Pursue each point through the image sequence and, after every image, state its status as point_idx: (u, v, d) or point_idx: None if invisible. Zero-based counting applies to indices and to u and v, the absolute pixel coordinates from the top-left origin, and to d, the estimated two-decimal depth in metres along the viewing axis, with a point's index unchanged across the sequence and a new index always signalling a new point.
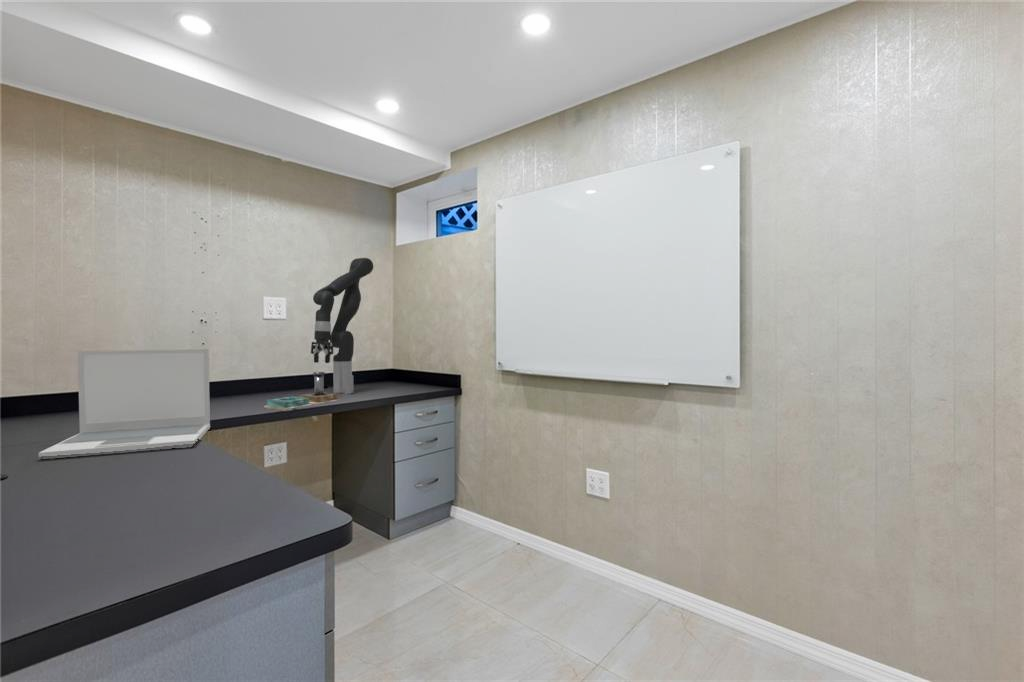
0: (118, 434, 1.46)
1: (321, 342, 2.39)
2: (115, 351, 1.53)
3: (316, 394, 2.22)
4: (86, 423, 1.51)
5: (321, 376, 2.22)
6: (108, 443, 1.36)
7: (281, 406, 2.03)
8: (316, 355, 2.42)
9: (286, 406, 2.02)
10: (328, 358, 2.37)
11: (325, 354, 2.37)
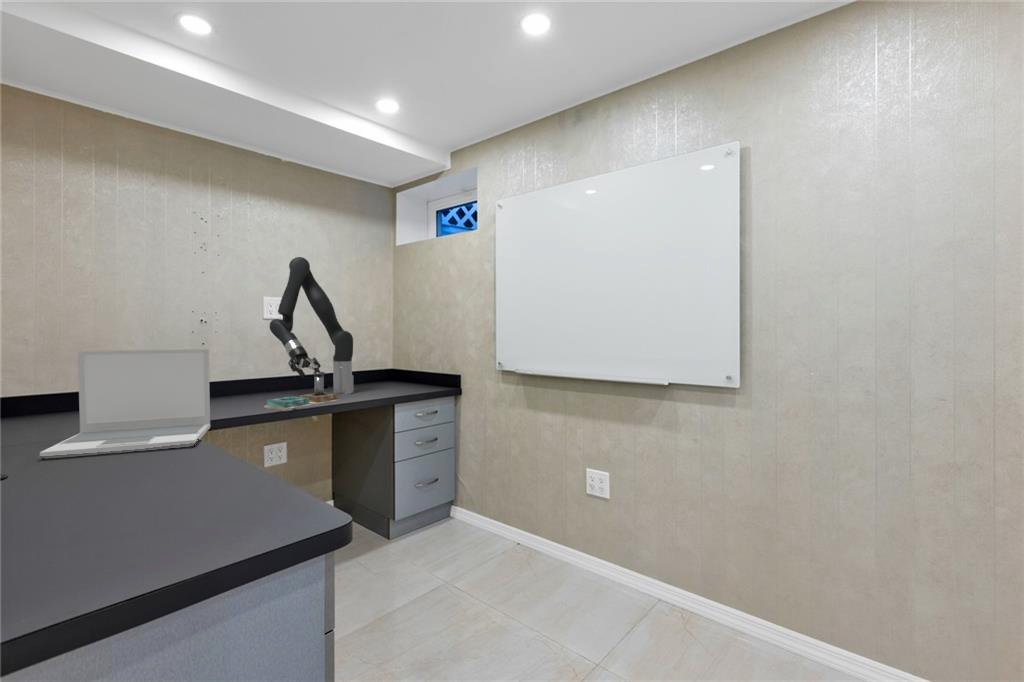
0: (118, 434, 1.46)
1: None
2: (115, 351, 1.53)
3: (316, 394, 2.22)
4: (87, 423, 1.51)
5: (321, 376, 2.22)
6: (109, 443, 1.36)
7: (281, 406, 2.03)
8: (315, 370, 2.31)
9: (286, 406, 2.02)
10: (299, 373, 2.22)
11: (298, 371, 2.24)
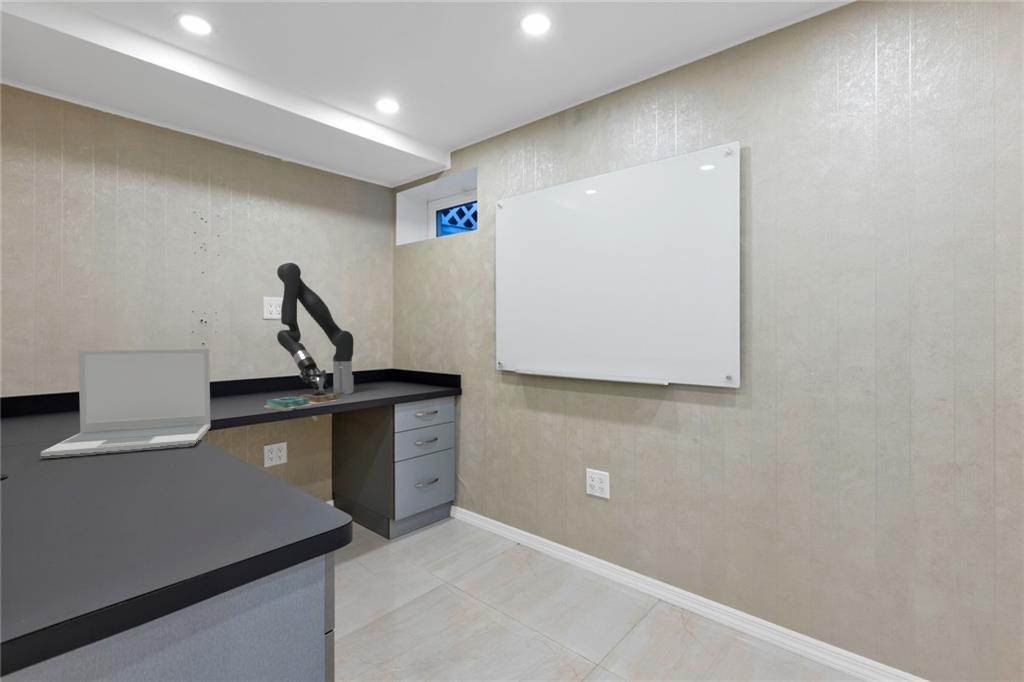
0: (119, 434, 1.47)
1: None
2: (116, 351, 1.53)
3: (316, 394, 2.22)
4: (87, 422, 1.51)
5: (321, 376, 2.22)
6: (110, 442, 1.36)
7: (281, 406, 2.03)
8: None
9: (286, 406, 2.02)
10: (313, 386, 2.21)
11: None
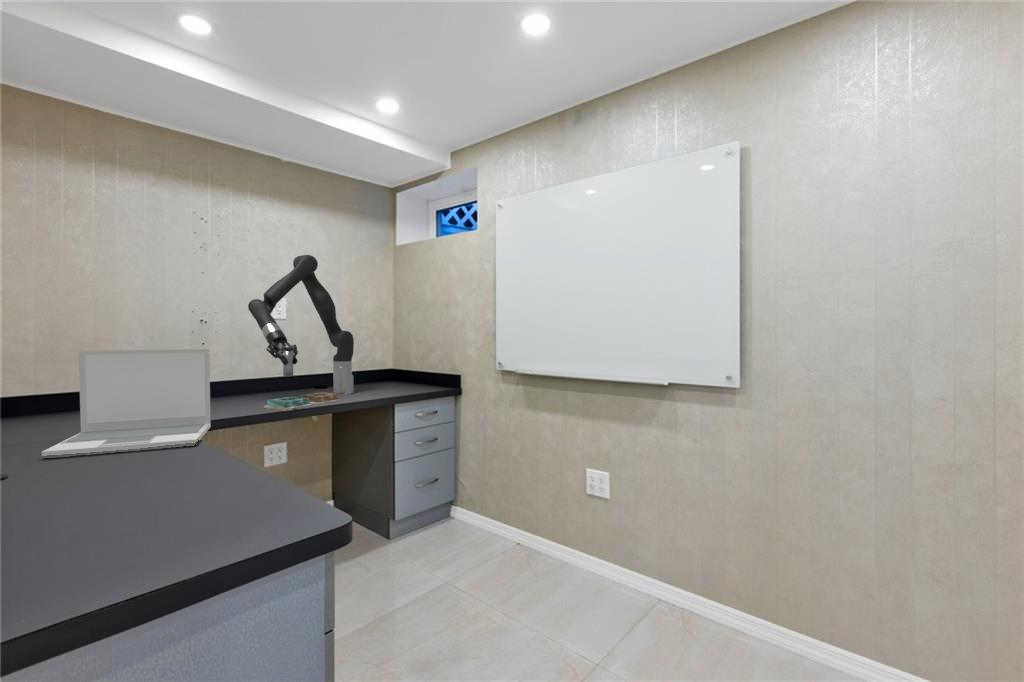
0: (120, 433, 1.47)
1: None
2: (116, 351, 1.53)
3: (285, 369, 2.08)
4: (87, 422, 1.51)
5: (290, 350, 2.08)
6: (110, 442, 1.37)
7: (281, 406, 2.03)
8: None
9: (286, 406, 2.02)
10: (281, 360, 2.07)
11: None
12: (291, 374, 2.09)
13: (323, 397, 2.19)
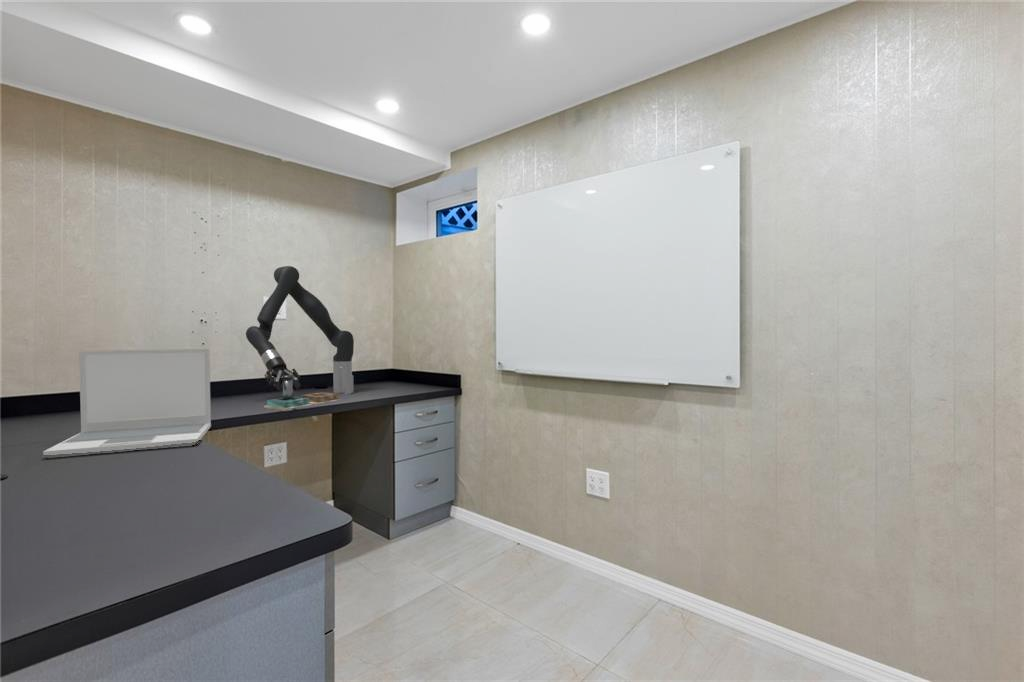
0: (120, 433, 1.48)
1: None
2: (116, 351, 1.54)
3: (285, 399, 2.08)
4: (88, 422, 1.52)
5: (290, 379, 2.08)
6: (111, 442, 1.37)
7: (281, 406, 2.03)
8: (294, 382, 2.14)
9: (286, 406, 2.02)
10: (276, 386, 2.05)
11: None
12: None
13: (323, 397, 2.19)
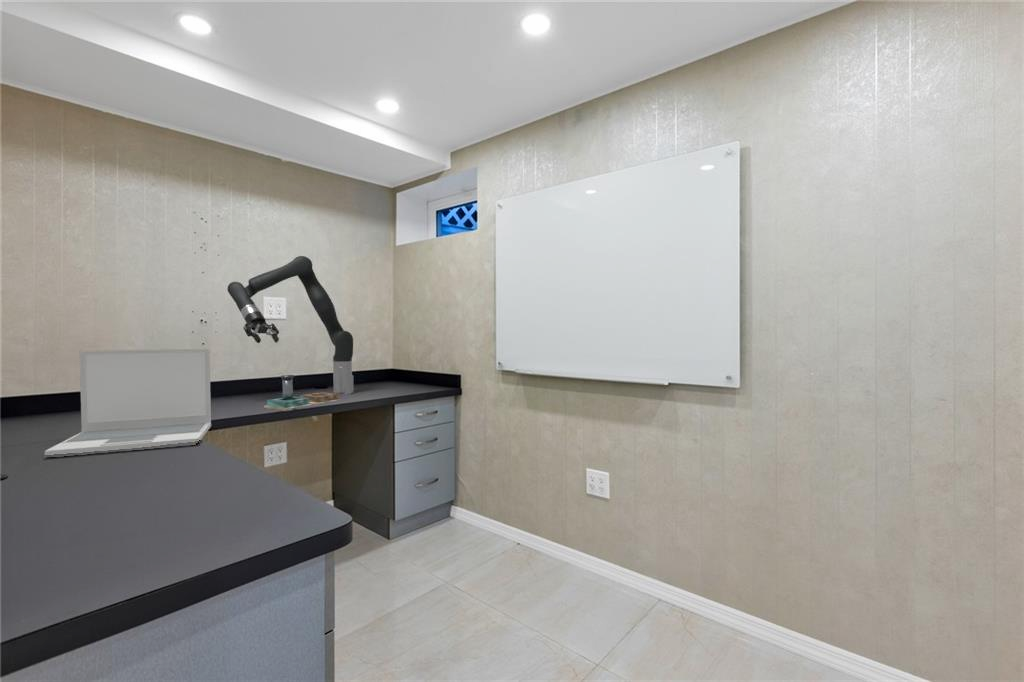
0: (121, 433, 1.48)
1: None
2: (117, 350, 1.54)
3: (284, 399, 2.08)
4: (88, 422, 1.52)
5: (289, 379, 2.08)
6: (113, 441, 1.38)
7: (281, 406, 2.03)
8: (273, 336, 2.20)
9: (286, 406, 2.02)
10: (254, 338, 2.12)
11: None
12: None
13: (323, 397, 2.19)
